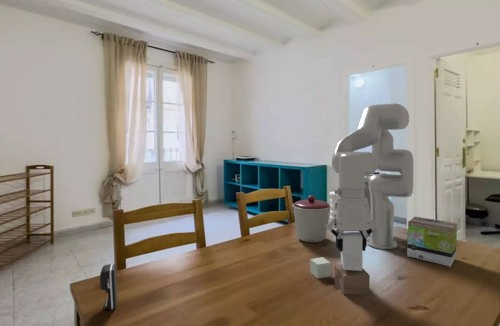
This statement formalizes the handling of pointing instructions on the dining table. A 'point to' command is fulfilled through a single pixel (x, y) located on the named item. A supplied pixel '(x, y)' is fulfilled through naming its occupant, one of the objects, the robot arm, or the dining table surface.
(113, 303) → the battery charger
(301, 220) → the canister
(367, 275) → the walnut block
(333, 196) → the decorative container
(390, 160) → the robot arm
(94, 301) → the dining table surface
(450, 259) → the tea box
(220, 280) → the dining table surface
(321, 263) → the sage block
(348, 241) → the small box
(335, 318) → the dining table surface
